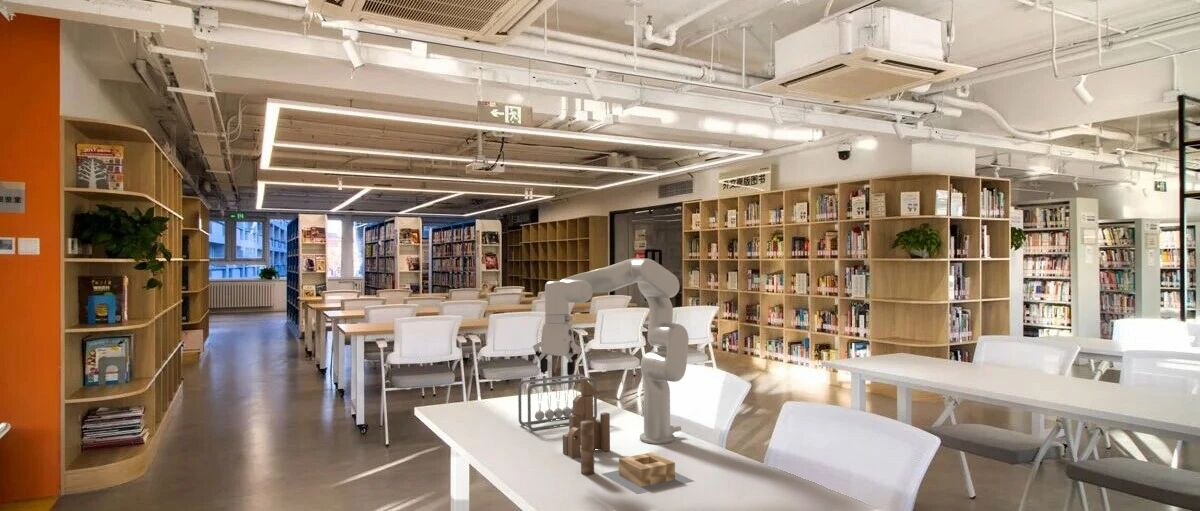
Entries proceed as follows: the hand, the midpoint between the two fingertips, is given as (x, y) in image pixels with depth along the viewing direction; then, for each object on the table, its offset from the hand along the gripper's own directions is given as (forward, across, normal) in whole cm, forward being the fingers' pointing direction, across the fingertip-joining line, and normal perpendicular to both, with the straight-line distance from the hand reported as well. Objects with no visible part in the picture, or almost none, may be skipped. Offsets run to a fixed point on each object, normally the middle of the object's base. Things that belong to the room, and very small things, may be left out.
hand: (557, 373), depth 213 cm
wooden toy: (+30, -2, -16) cm, 34 cm away
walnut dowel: (+29, -13, +4) cm, 32 cm away
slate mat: (+29, -31, +1) cm, 43 cm away
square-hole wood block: (+29, -31, +1) cm, 42 cm away
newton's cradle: (+30, +26, -46) cm, 60 cm away
